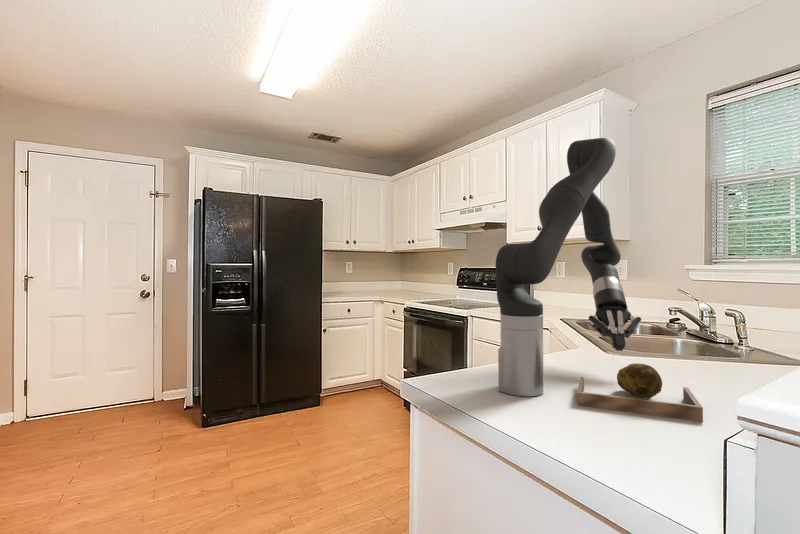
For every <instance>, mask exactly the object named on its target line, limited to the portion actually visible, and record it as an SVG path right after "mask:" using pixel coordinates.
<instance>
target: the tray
mask: <svg viewBox="0 0 800 534" xmlns="http://www.w3.org/2000/svg"><path fill="white" fill-rule="evenodd" d="M682 388H683V389H682V392H683V395H682V396H683V398H682V399H683V400H684V402H685V403H680V402H679V403H678V402H672V401H671V402H669V401H659V400H651V399H641V398H638V397H626V396H620V395H609V394H602V393H592V392H584V391H585V377H584V376H579V382H578V387H577V391H576V392H577V393H576V395H577V396H576V397H577V398H576V399H577V400H576V401H577V402H576V403H577V406H581V405H582V407H590V408H591V407H592V408H598V409H603V410H604V409H605V410H612V411H613V410H614V411H618V412H619V411H621V412H628V413H637V414H643V415H652V416H657V415H658V416H659V417H665V416H666V418H667V417H668V418H672V417H674V418H673V419H680V418H682V420H688V419H690V420H689V421H695V420H698V421H697V422H703V421H704V411H703V410H704V409H703V406H702V404H701V403H700V402H699V401H698V399H697V398H696V396H695V395H694V394H693V393H692V391H691V390H690V388H689V387H687V386H686V387H685V386H684V387H682Z"/></svg>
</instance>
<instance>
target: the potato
mask: <svg viewBox="0 0 800 534" xmlns="http://www.w3.org/2000/svg"><path fill="white" fill-rule="evenodd" d="M617 372H618V373H617V374H616V380H617V381H616V382H617V384H618V386H619V387H620V388H621V389H622V390H623V391H625V392H626V393H628V394H630V395H631V396H633V397H634V398H637V399H645V400H650V399H651V398H653V397H655V396H657V395H658V394H660V392H661V391H662V388H663V379H662V377H661V375H660V374H659V372H658V371H657V370H656V369H655V368H654V367H653V366H651V365H648V364H646V363H645V364H644V363H630V364H628V365H626V366H624V367H622V368H620V369H619V370H618V371H617Z"/></svg>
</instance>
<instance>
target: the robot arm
mask: <svg viewBox="0 0 800 534" xmlns="http://www.w3.org/2000/svg"><path fill="white" fill-rule="evenodd" d="M616 154H617V148H616V144H615V142H614V141H613V140H612V139H610V138H606V137H599V138H598V137H596V138H589V139H587V138H586V139H579V140H574V141H573V142H572V143H570V145H569V147H568V150H567V152H566V161H567V162H566V163H567V168H568V173H569V175H568V176H565V177H564V178H562V179H560V180H559V181H558V182H556V183H555V184H553V186H552V187H551V188H550V189H549V190H548V192H547V194H546V195H545V197H543V200H542V201H541V202H540V205H539V209H538V216H539V221H540V224H541V229H540V231H539V233H538V234H537V236H536V237H535V238H534V240H532V241H531V242H530V241H529V242H523V243H522V242H521V243H510V244H509V243H508V244H505V245H502V246H501V247H500V248H499V250H498V251H497V253H496V256H495V257H496V258H495V281H496V283H495V285H496V298H497V303H498V305H499V308H500V309H499V310H500V317H499V318H500V347H498V350H497V351H498V352H497V354H498V355H497V357H498V361H497V362H498V365H497V366H498V375H497V377H498V381H497V382H498V392H501V393H506V394H508V395H512V396H517V397H518V396H519V397H535V396H536V397H537V396H541V395H543V394H544V384H545V383H544V307H543V303H542V302H541V301H540V300H538V299H536V298H534V297H533V296H531V295H530V294H529V293H527V291H526V289H525V285H537V284H541V283H543V282H544V281H546V279H547V277H548V276H549V274H550V273H551V271H552V269H553V266H554V264H555V262H556V260H557V258H558V256H559V253H560V250H561V249H562V246H563V244H564V242H565V241H566V239H567V236H568V235H569V233H570V231H571V229H572V228H573V226H574V224H575V223H576V221H577V220H578V218H579V217H580V215H581V216H582V222H583V230H584V236H585V239H586V240H587V241H588V242H592V243H598V244H596V245H588V246H585V248H583V249H582V250H581V255H580V256H581V257H580V258H581V260H582V264H583V266H584V267H585V269H586V270H587V272H588V273H589V274H590V277H591V282H592V294H593V295H592V296H593V297H592V298H593V300H594V304H595V305H594V306H595V314H594V315H589V316H588V319H587V324H588V325H589V327H591V328H592V329H594V330H595V331H596V332H597V333H598V334H600V335H601V336H602V337H608V338H610V342H611V347H612V348H613V349H615V351H619V352H620V351H622V352H623V350H625V347H626V345H627V344H626V343H627V342H626V339H629V338H630V337H631V336H632V335H633V333H635V331H636V330H637V329H638V328H639V326H640V325H641V323H642V318H641V317H640V316H636V317H635V316H634V315H632V313H631V311H630V310H629V309H628V305H627V301H626V297H625V293H624V288H623V286H622V284H621V280H620V277H619V272H618V270H617V268H616V267H615V266H617V265H618V264H619V263H620V261H621V255H622V254H621V252H620V250H619V247H618V246H617V244H616V242H615V239H614V237H613V233H612V228H611V219H610V212H609V210H608V207H607V206H606V204H605V202H604V201H603V200H602V199H601V197H600V196H599V195H598V194H597V193H596V191H595V189H596V188H597V187H598V186H599V184H600V183H601V182H602V180H603V179H604V178H605V176H606V175H607V174H608V173H609V172H610V170H611V169H612V167H613V164H614V162H615V160H616V159H615V158H616ZM599 243H601V244H599ZM628 322H629V325H628V326H627V327H626V328H624V327H625V326H626V324H627V323H628ZM625 338H626V339H625Z"/></svg>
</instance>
